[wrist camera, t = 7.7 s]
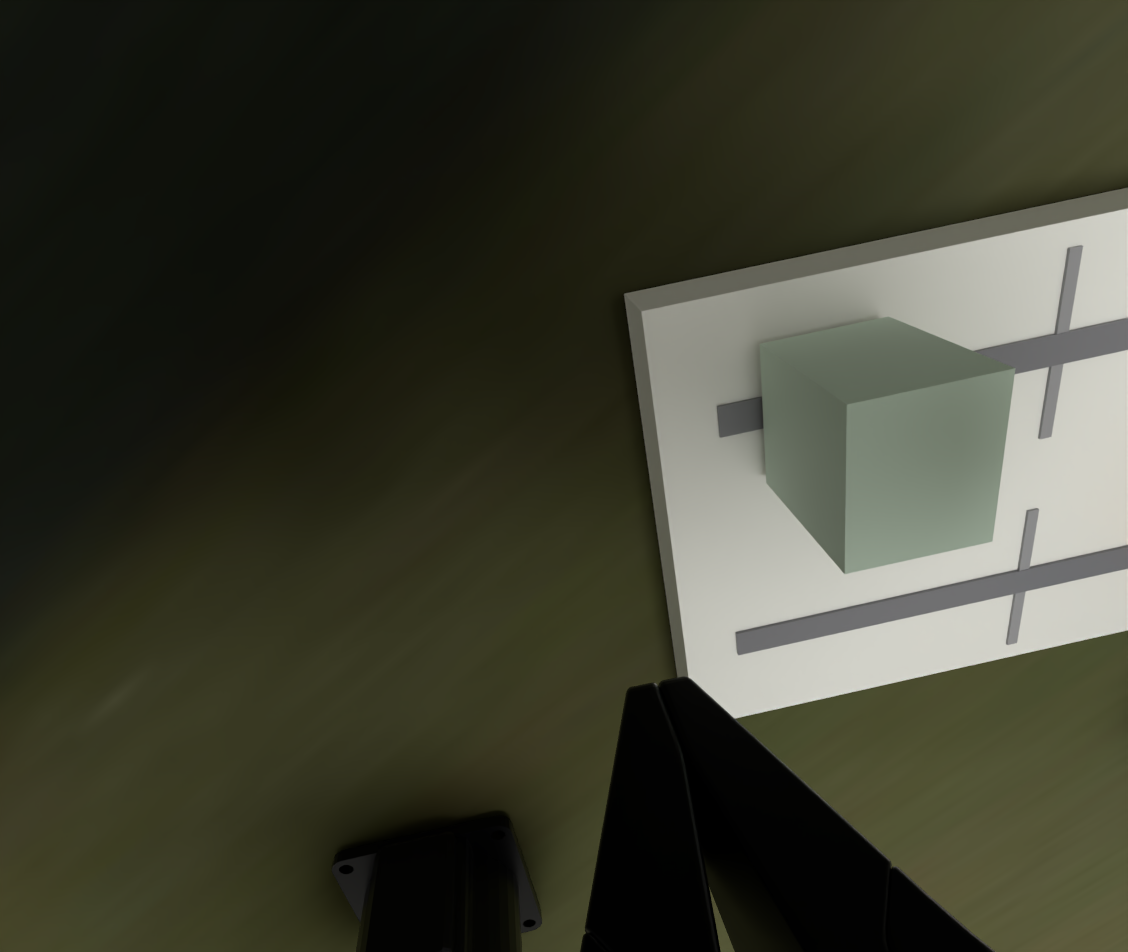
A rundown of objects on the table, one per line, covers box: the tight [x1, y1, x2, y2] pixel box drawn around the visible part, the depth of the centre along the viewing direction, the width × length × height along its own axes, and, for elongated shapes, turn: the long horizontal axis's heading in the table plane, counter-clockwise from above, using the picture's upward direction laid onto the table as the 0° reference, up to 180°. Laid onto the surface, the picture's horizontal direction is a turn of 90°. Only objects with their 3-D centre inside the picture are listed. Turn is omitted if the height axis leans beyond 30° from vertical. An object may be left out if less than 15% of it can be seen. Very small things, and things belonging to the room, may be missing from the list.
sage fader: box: [759, 316, 1015, 574], centre depth 14 cm, size 4×3×4 cm
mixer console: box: [624, 188, 1128, 718], centre depth 19 cm, size 13×20×2 cm, turn 100°
